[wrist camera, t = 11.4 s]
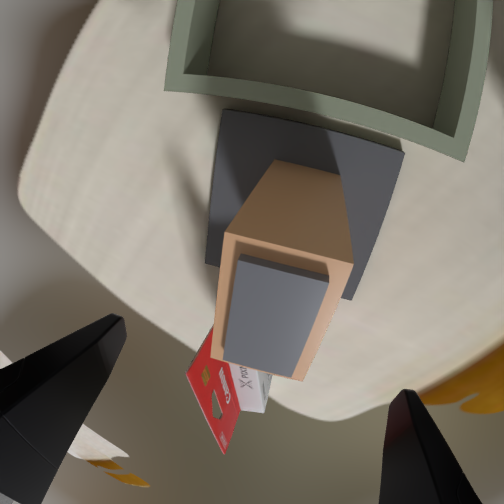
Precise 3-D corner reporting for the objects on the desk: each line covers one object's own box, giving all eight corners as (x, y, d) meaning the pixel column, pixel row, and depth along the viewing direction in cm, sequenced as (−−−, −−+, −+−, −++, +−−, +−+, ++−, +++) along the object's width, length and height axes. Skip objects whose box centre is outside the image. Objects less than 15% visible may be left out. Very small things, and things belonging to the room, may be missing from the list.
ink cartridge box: (264, 272, 23) (228, 378, 15) (275, 370, 28) (253, 460, 20) (232, 272, 23) (183, 371, 15) (250, 367, 29) (222, 455, 20)
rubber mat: (402, 151, 16) (404, 153, 16) (351, 295, 22) (351, 300, 21) (225, 108, 17) (222, 109, 17) (207, 259, 23) (204, 263, 23)
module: (340, 175, 17) (354, 271, 9) (316, 260, 21) (301, 389, 12) (274, 159, 18) (220, 237, 9) (258, 245, 21) (207, 364, 12)
